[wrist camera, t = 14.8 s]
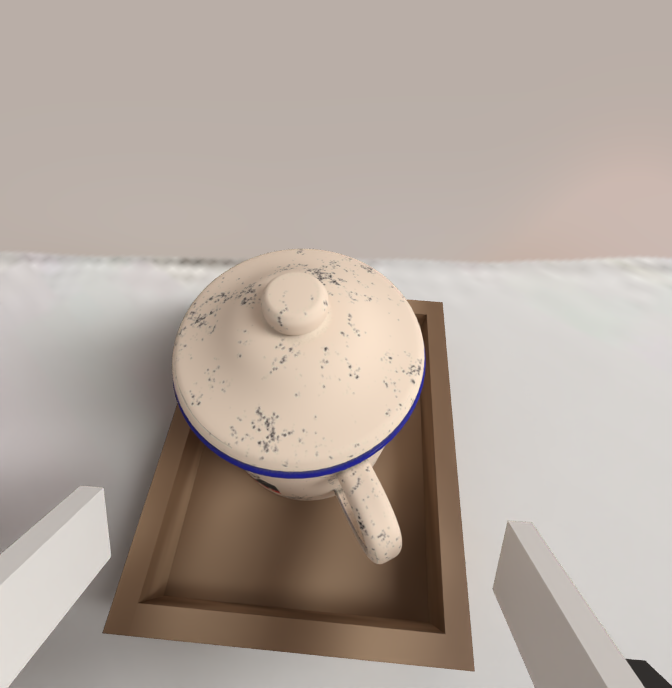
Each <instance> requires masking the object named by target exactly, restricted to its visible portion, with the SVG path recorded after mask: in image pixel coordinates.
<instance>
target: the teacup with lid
mask: <svg viewBox="0 0 672 688" xmlns="http://www.w3.org/2000/svg"><path fill="white" fill-rule="evenodd" d="M425 367H426V358H425V348H424V342H423V337H422V333H421V329H420V326H419V323H418V321H417V318H416V316H415V314H414V312H413V310H412V308H411V306H410V305H409V303H408V302H407V300H406V299H405V297H404V296H403V295H402V294H401V292H400V291H399V290H398V289H397V288H396V287H395V286H394V285H393V283H392V282H390V281H389V280H388V279H387V278H386V277H385V276H383V275H382V274H381V273H379V272H378V271H377V270H375V269H373V268H372V267H370V266H368V265H367V264H365V263H363V262H361V261H359V260H356V259H354V258H351V257H348V256H345V255H342V254H339V253H334V252H330V251H324V250H317V249H289V250H281V251H276V252H270V253H266V254H263V255H259V256H257V257H254V258H251V259H248V260H246V261H244V262H242V263H240V264H238V265H236V266H234V267H232V268H230V269H229V270H227V271H226V272H224V273H223V274H221V275H220V276H219V277H217V278H216V279H215V280H213V281H212V282H211V283H210V284H209V285H208V286H207V287H206V288H205V289H204V290H203V291H202V292H201V293H200V294H199V295H198V297H197V298H196V299H195V301H194V302H193V303H192V305H191V306H190V308H189V309H188V311H187V313H186V315H185V317H184V319H183V321H182V323H181V325H180V327H179V330H178V333H177V336H176V340H175V343H174V348H173V355H172V376H173V386H174V391H175V396H176V399H177V402H178V405H179V408H180V410H181V412H182V414H183V416H184V418H185V420H186V422H187V423H188V425H189V426H190V428H191V430H192V431H193V432H194V433H195V435H196V436H197V437H198V438H199V439H200V440H201V441H202V442H203V443H204V444H205V445H206V446H207V447H208V448H209V449H210V450H211V451H213V452H214V453H215V454H217V455H218V456H219V457H221V458H222V459H224V460H226V461H228V462H229V463H231V464H233V465H235V466H237V467H239V468H242V469H244V470H245V471H246V472H247V473H248V474H249V475H250V476H251V477H252V478H253V479H254V480H255V481H256V482H258V483H259V484H260V485H261V486H263V487H264V488H266V489H267V490H269V491H271V492H273V493H275V494H277V495H279V496H283V497H286V498H290V499H294V500H303V501H306V500H320V499H325V498H329V497H332V496H335V495H336V497H337V499H338V501H339V504H340V506H341V508H342V510H343V512H344V515H345V517H346V519H347V521H348V523H349V525H350V527H351V529H352V531H353V533H354V535H355V537H356V539H357V541H358V542H359V544H360V546H361V548H362V549H363V551H364V552H365V554H366V555H367V557H368V558H369V559H370V560H371V561H373V562H374V563H376V564H383V563H385V562H387V561H389V560H391V559H392V558H394V557H396V556H397V555H398V554H399V553H400V551H401V548H402V536H401V532H400V528H399V525H398V522H397V519H396V517H395V514H394V511H393V509H392V507H391V504H390V502H389V500H388V498H387V496H386V494H385V492H384V489H383V487H382V485H381V483H380V481H379V480H378V478H377V476H376V474H375V472H374V470H373V468H372V467H373V466H374V464H375V462H376V461H377V459H378V457H379V456H380V454H381V452H382V450H383V448H384V447H385V446H386V445H387V444H388V443H389V442H390V441H391V440H392V439H393V438H394V437H395V436H396V435H397V434H398V433H399V431H400V430H401V429H402V428H403V426H404V425H405V423H406V422H407V421H408V419H409V418H410V416H411V414H412V412H413V411H414V409H415V406H416V404H417V402H418V400H419V397H420V394H421V390H422V387H423V382H424V377H425Z"/></svg>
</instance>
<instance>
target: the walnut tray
mask: <svg viewBox="0 0 672 688" xmlns="http://www.w3.org/2000/svg"><path fill="white" fill-rule="evenodd" d="M407 302H408V303H409V305H410V306H411V308H412V310H413V312H414V314H415V316H416V318H417V321H418V323H419V326H420V329H421V333H422V337H423V342H424V348H425V358H426V367H425V377H424V382H423V387H422V390H421V394H420V397H419V400H418V402H417V404H416V406H415V409H414V411H413V412H412V414H411V416H410V418H409V419H408V421H407V422H406V423H405V425H404V426H403V428H402V429H401V430H400V431H399V433H398V434H397V435H396V436H395V437H394V438H393V439H392V440H391V441H390V442H389V443H388V444H387V445H386V446H385V447H384V448H383V450H382V452H381V454H380V456H379V457H378V459H377V461H376V462H375V464H374V466H373V467H372V468H373V470H374V472H375V474H376V476H377V478H378V480H379V481H380V483H381V485H382V487H383V489H384V492H385V494H386V496H387V498H388V500H389V502H390V504H391V507H392V509H393V511H394V514H395V517H396V519H397V522H398V525H399V528H400V532H401V536H402V548H401V551H400V553H399V554H398V555H397V556H396V557H394V558H392V559H391V560H389V561H387V562H385V563H383V564H376V563H374V562H373V561H371V560H370V559H369V558H368V557H367V555H366V554H365V552H364V551H363V549H362V548H361V546H360V544H359V542H358V541H357V539H356V537H355V535H354V533H353V531H352V529H351V527H350V525H349V523H348V521H347V519H346V517H345V515H344V512H343V510H342V508H341V506H340V504H339V501H338V499H337V497H336V495H335V496H332V497H329V498H325V499H320V500H306V501H303V500H294V499H290V498H286V497H283V496H279V495H277V494H275V493H273V492H271V491H269V490H267V489H266V488H264V487H263V486H261V485H260V484H259V483H258V482H256V481H255V480H254V479H253V478H252V477H251V476H250V475H249V474H248V473H247V472H246V471H245V470H244V469H242V468H239V467H237V466H235V465H233V464H231V463H229V462H228V461H226V460H224V459H222V458H221V457H219V456H218V455H217V454H215V453H214V452H213V451H211V450H210V449H209V448H208V447H207V446H206V445H205V444H204V443H203V442H202V441H201V440H200V439H199V438H198V437H197V436H196V435H195V433H194V432H193V431H192V430H191V428H190V426H189V425H188V423H187V422H186V420H185V418H184V416H183V414H182V412H181V410H180V408H179V405H178V403H177V406H176V409H175V413H174V416H173V419H172V422H171V425H170V428H169V431H168V434H167V437H166V440H165V443H164V446H163V449H162V452H161V455H160V458H159V461H158V465H157V468H156V471H155V474H154V477H153V480H152V483H151V486H150V489H149V492H148V495H147V498H146V501H145V504H144V507H143V510H142V513H141V516H140V520H139V523H138V526H137V529H136V532H135V535H134V538H133V541H132V544H131V547H130V550H129V553H128V556H127V559H126V562H125V565H124V568H123V572H122V575H121V578H120V581H119V584H118V587H117V590H116V593H115V596H114V599H113V602H112V605H111V608H110V611H109V614H108V617H107V620H106V623H105V627H104V630H103V633H106V634H116V635H125V636H135V637H145V638H154V639H164V640H174V641H183V642H193V643H203V644H213V645H222V646H232V647H242V648H251V649H261V650H271V651H281V652H290V653H300V654H310V655H319V656H329V657H339V658H348V659H358V660H368V661H378V662H387V663H397V664H407V665H416V666H426V667H436V668H445V669H455V670H465V671H475V670H474V658H473V647H472V635H471V624H470V612H469V601H468V589H467V578H466V567H465V555H464V544H463V532H462V521H461V509H460V498H459V486H458V475H457V463H456V452H455V440H454V429H453V417H452V406H451V394H450V383H449V371H448V360H447V348H446V337H445V325H444V314H443V302H431V301H418V300H407Z"/></svg>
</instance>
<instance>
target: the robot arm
mask: <svg viewBox="0 0 672 688" xmlns="http://www.w3.org/2000/svg"><path fill="white" fill-rule="evenodd" d="M110 557H111V550H110V541H109V532H108V523H107V514H106V505H105V496H104V488H103V487H91V486H79V487H78V488H77V489H76V490H75V491H74V492H72V493H71V494H70V495H69V496H68V497H67V498H65V499H64V500H63V501H62V502H61V503H60V504H58V505H57V506H56V507H55V508H54V509H53V510H51V511H50V512H49V513H48V514H47V515H46V516H45V517H43V518H42V519H41V520H40V521H39V522H38V523H36V524H35V525H34V526H33V527H32V528H31V529H29V530H28V531H27V532H26V533H25V534H24V535H22V536H21V537H20V538H19V539H18V540H17V541H15V542H14V543H13V544H12V545H11V546H10V547H8V548H7V549H6V550H5V551H4V552H3V553H1V554H0V688H8V687H9V686H10V684H11V683H12V682H13V680H14V679H15V678H16V677H17V675H18V674H19V673H20V672H21V670H22V669H23V668H24V667H25V665H26V664H27V663H28V661H29V660H30V659H31V658H32V656H33V655H34V654H35V653H36V651H37V650H38V649H39V647H40V646H41V645H42V644H43V642H44V641H45V640H46V639H47V637H48V636H49V635H50V634H51V632H52V631H53V630H54V628H55V627H56V626H57V625H58V623H59V622H60V621H61V620H62V618H63V617H64V616H65V615H66V613H67V612H68V611H69V609H70V608H71V607H72V606H73V604H74V603H75V602H76V601H77V599H78V598H79V597H80V596H81V594H82V593H83V592H84V590H85V589H86V588H87V587H88V585H89V584H90V583H91V582H92V580H93V579H94V578H95V576H96V575H97V574H98V573H99V571H100V570H101V569H102V568H103V566H104V565H105V564H106V563H107V561H108V560H109V559H110ZM493 591H494V594H495V596H496V598H497V601H498V603H499V605H500V608H501V610H502V612H503V614H504V617H505V619H506V621H507V624H508V626H509V628H510V631H511V633H512V635H513V638H514V640H515V642H516V645H517V647H518V649H519V652H520V654H521V656H522V659H523V661H524V663H525V666H526V668H527V670H528V673H529V675H530V677H531V680H532V682H533V684H534V687H535V688H672V686H671V685H670V684H669V683H668V682H667V681H666V680H665V679H664V678H663V677H662V676H661V675H660V674H659V673H658V672H657V671H655V670H654V669H653V668H652V667H651V666H650V665H649V664H648V663H647V662H646V661H643V660H632V659H625V658H624V656H623V655H622V654H621V652H620V651H619V649H618V648H617V646H616V645H615V643H614V642H613V640H612V639H611V637H610V636H609V635H608V633H607V632H606V630H605V629H604V627H603V626H602V624H601V623H600V621H599V620H598V618H597V617H596V616H595V614H594V613H593V611H592V610H591V608H590V607H589V605H588V604H587V602H586V601H585V599H584V598H583V597H582V595H581V594H580V592H579V591H578V589H577V588H576V586H575V585H574V583H573V582H572V580H571V579H570V578H569V576H568V575H567V573H566V572H565V570H564V569H563V567H562V566H561V564H560V563H559V561H558V560H557V559H556V557H555V556H554V554H553V553H552V551H551V550H550V548H549V547H548V545H547V544H546V542H545V541H544V540H543V538H542V537H541V535H540V534H539V532H538V531H537V529H536V528H535V526H534V525H533V523H532V522H520V521H508V522H507V526H506V531H505V535H504V540H503V544H502V549H501V553H500V558H499V562H498V567H497V571H496V576H495V580H494V585H493Z"/></svg>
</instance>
